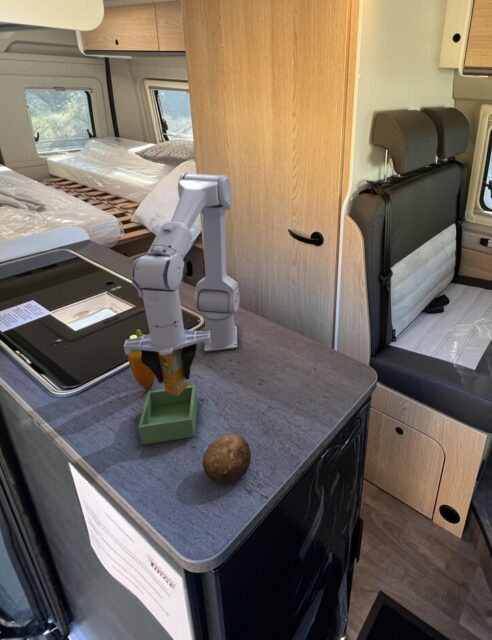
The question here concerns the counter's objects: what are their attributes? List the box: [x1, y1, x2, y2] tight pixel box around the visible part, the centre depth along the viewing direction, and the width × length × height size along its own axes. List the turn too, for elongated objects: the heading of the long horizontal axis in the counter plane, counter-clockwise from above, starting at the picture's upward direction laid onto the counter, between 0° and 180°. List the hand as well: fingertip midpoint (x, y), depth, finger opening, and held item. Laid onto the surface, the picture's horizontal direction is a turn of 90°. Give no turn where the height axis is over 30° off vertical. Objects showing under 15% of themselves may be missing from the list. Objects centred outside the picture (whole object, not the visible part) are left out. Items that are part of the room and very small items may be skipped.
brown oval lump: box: [202, 433, 252, 484], centre depth 68 cm, size 8×8×6 cm
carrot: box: [124, 328, 156, 391], centre depth 81 cm, size 5×5×15 cm
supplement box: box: [158, 348, 189, 396], centre depth 74 cm, size 3×3×10 cm
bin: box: [137, 384, 199, 446], centre depth 76 cm, size 9×9×4 cm
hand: (174, 377), depth 74 cm, fingers closed on supplement box, 4 cm apart
